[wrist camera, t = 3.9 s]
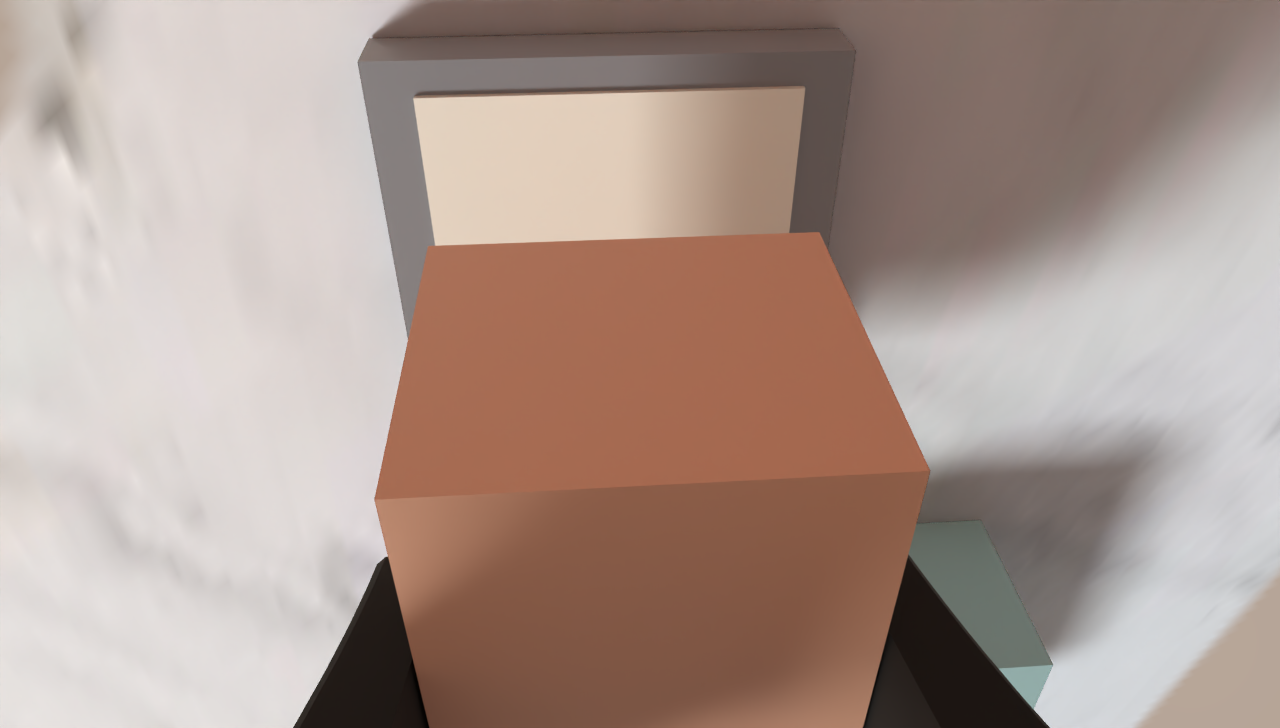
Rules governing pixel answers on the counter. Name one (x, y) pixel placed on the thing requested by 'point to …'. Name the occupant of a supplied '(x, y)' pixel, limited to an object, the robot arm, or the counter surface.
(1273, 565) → the counter surface
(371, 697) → the robot arm
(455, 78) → the baseplate
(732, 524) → the terracotta brick
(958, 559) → the teal brick
